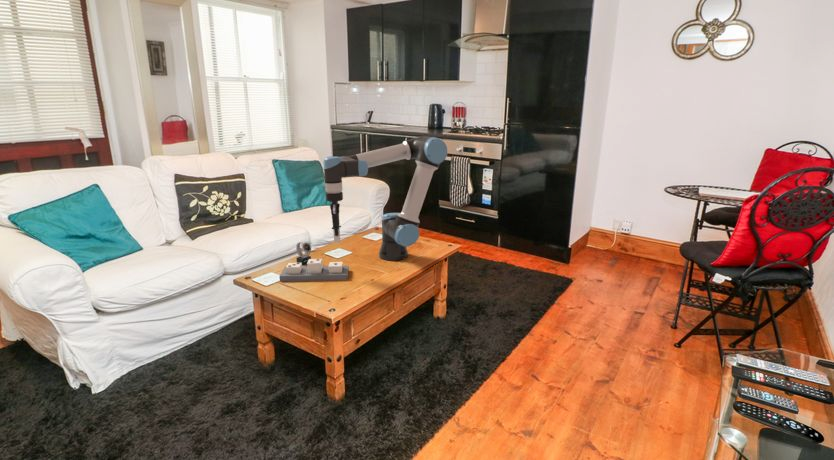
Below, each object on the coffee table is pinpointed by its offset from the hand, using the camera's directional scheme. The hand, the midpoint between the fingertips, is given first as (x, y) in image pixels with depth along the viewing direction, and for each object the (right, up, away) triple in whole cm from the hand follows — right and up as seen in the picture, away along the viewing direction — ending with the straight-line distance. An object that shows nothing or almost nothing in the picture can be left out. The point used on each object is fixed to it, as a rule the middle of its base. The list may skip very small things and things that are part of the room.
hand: (337, 241), depth 208 cm
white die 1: (-20, -15, 0) cm, 25 cm away
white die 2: (-1, -15, +2) cm, 15 cm away
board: (-10, -16, +1) cm, 19 cm away
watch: (-20, -11, +18) cm, 29 cm away
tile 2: (-10, -14, +1) cm, 17 cm away
